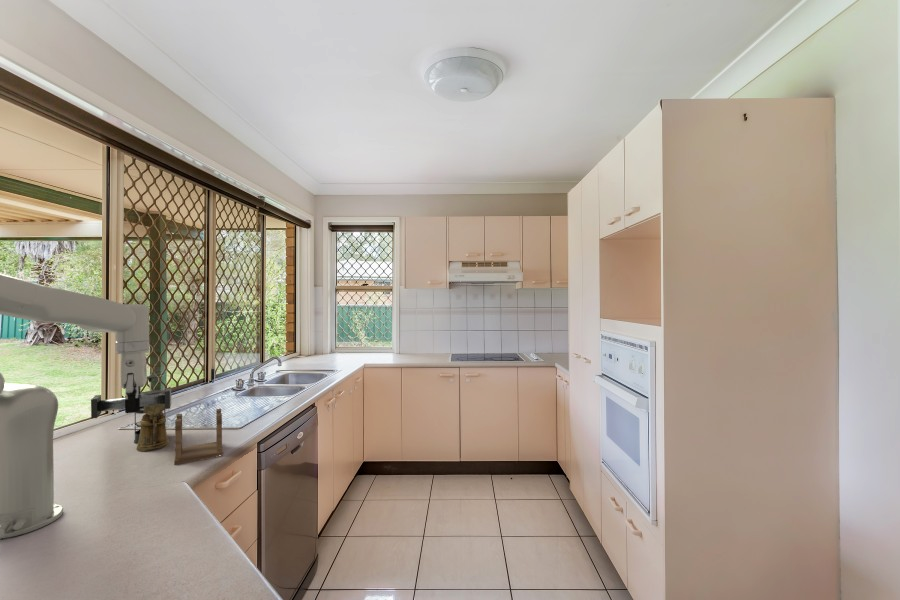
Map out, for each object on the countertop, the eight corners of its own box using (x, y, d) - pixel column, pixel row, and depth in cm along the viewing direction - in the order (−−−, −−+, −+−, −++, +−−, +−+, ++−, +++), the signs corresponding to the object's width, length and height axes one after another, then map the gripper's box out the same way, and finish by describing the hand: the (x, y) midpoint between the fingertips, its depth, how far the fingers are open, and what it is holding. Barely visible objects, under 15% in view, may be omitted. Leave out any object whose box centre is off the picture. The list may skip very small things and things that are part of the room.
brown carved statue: (137, 458, 126) (137, 402, 126) (135, 445, 136) (135, 394, 136) (171, 451, 132) (171, 397, 132) (167, 439, 142) (167, 390, 142)
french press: (168, 440, 142) (167, 376, 142) (134, 446, 136) (134, 380, 135) (164, 431, 151) (163, 372, 150) (132, 437, 144) (132, 375, 144)
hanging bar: (170, 408, 115) (169, 391, 115) (91, 418, 106) (90, 399, 106) (171, 404, 119) (171, 387, 119) (95, 413, 110) (95, 395, 110)
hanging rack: (222, 455, 128) (222, 416, 128) (174, 464, 121) (174, 422, 121) (221, 444, 138) (221, 407, 138) (176, 451, 131) (176, 413, 131)
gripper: (145, 349, 107) (146, 416, 108) (152, 343, 121) (153, 402, 122) (109, 351, 103) (110, 420, 104) (121, 345, 117) (121, 406, 118)
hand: (133, 410), depth 113 cm, fingers closed on hanging bar, 3 cm apart
